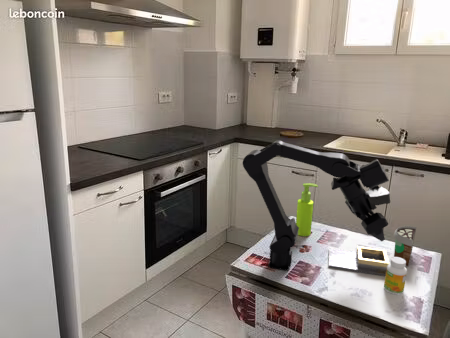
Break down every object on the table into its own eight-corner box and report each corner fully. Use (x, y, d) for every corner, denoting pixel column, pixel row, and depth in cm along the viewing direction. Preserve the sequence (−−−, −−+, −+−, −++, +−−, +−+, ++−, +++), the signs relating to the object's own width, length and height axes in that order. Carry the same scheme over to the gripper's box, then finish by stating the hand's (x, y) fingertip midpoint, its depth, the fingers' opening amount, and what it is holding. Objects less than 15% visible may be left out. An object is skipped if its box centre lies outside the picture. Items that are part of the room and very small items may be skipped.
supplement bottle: (380, 289, 111) (385, 259, 109) (388, 282, 115) (392, 253, 112) (399, 297, 108) (404, 267, 105) (406, 289, 111) (411, 260, 109)
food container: (393, 247, 136) (397, 222, 133) (411, 252, 133) (416, 226, 130) (387, 263, 126) (391, 235, 123) (407, 268, 123) (412, 240, 120)
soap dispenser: (314, 236, 143) (319, 186, 137) (296, 236, 143) (300, 186, 138) (311, 229, 149) (316, 181, 143) (294, 229, 149) (297, 181, 143)
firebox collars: (328, 267, 122) (329, 256, 121) (329, 249, 133) (330, 240, 132) (391, 277, 118) (393, 266, 116) (386, 258, 129) (388, 248, 128)
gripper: (393, 192, 100) (416, 235, 105) (367, 168, 118) (387, 205, 122) (355, 213, 102) (380, 254, 107) (335, 186, 119) (356, 222, 124)
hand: (376, 232), depth 115 cm, fingers open, 9 cm apart
